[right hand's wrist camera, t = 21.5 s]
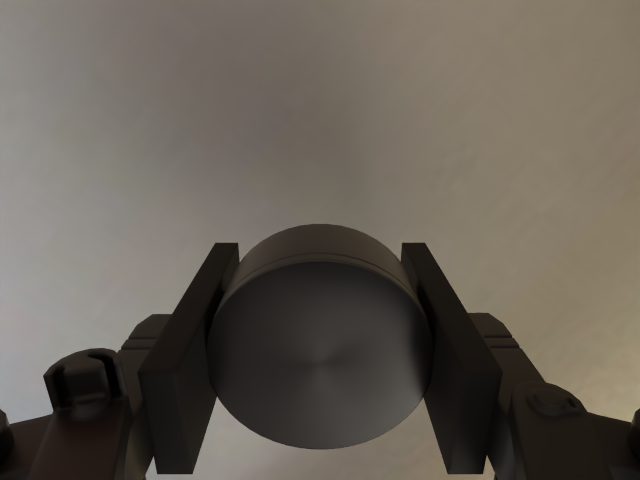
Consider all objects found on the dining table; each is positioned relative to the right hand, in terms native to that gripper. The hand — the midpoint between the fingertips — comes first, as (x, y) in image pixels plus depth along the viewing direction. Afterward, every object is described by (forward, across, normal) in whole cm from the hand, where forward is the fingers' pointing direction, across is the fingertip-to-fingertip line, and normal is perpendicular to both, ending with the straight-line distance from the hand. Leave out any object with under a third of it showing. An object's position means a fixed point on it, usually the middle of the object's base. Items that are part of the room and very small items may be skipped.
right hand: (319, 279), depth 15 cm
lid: (-4, 0, 0) cm, 4 cm away
